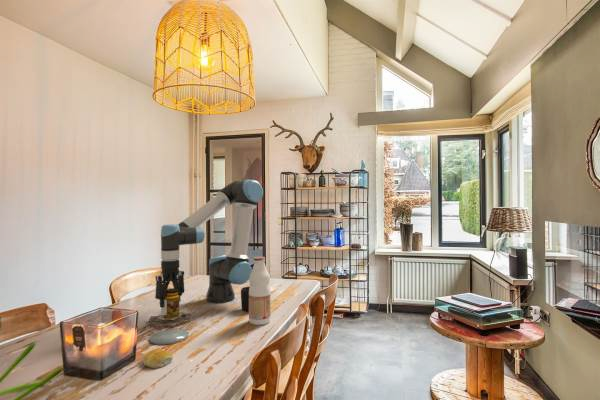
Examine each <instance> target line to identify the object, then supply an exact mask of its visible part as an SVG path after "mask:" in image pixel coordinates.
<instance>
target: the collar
mask: <svg viewBox="0 0 600 400" xmlns="http://www.w3.org/2000/svg"><path fill="white" fill-rule="evenodd" d="M179 314H183V315H181V316H182V318H184V319H182V320H179V321H177V322H173V323H172V322H170V323H159V322H156V321H158V320H159V319H157V318H159V317H161V316H162V315H163V314H161V313H160V314H159V315H151V316H150V317H149V318H148V319H147V321H148V322H147V323H148V326H149V327H153V328H156V329H168V328H169V329H170V328H176V327H180V326H183V325H186V324H187V323H191V318H192V313H191V312H189V313H187V312H180V311H179ZM181 316H180V317H181Z"/></svg>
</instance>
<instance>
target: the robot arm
mask: <svg viewBox="0 0 600 400" xmlns="http://www.w3.org/2000/svg"><path fill="white" fill-rule="evenodd" d="M263 195H264V189H263V187H262V185H261V184H260V182H259V181H258V180H256V179H245V180H235V181H232V182H230V183H228V184H227V185H225V186H224V187H223V188H221V189H220V190H219V191H217V192H216V196H214V197H213V198H211V199H210V200H209V201H207V202H206V203H205V204H203V205H202V206H201V207H199V208H197V210H195V211H194V212H192V213H191V214H190V215H189V216H187V217H186V218H185V219H183V220H182V221H181V222H179V223H178V224H177V223H175V224H163V225H162V226H161V230H160V245H161V247H160V250H161V251H160V252H161V253H160V258H161V261H160V267H161V274H159V275H155V282H156V283H155V295H154V297H155V299H156V300H159V307H160V315H161V314H163V315H167V299H165V297H166V293H167V289H169V288H168V287H169V284H170V283H171V282H172V286H173V287H172V288H175V289H178V295H179V303H181V298H182V297H181V296H183V294H184V293H185V279H184V277H185V271H184V270H179V268H180V246H183V245H184V246H185V245H186V246H187V245H198V244H202V243H203V242H204V241H205V235H206V234H205V231H204V229H203V227H201V226H203V225H204V224H205V223H206V222H208V221H209V220H210V219H212V218H213V217H214V216H215V215H217V214H218V213H219V212H221V210H223V209H224V208H225V207H226V208H227V207H230V206H231V205H232V204H234V205H235V206H236V212H235V213H236V214H235V219H234V225H233V232H232V239H231V244H230V251H229V253H228V254H227V255H222V256H214V257H213V256H212V257H210V259H209V261H208V263H209V264H208V267H209V268H208V269H209V271H208V273H209V274H208V278H209V279H208V282H209V283H208V284H209V286H208V289H207V291H206V295H205V301H206V302H207V303H211V304H212V303H213V304H221V303H223V304H224V303H228V302H231V301H234V300H235V298H236V297H235V296H236V294H235V291H234V287H233V285H239V286H240V285H244V284H246V283H247V282H248V281H249V275H250V273H251V272H252V269H253V267H252V266H251V264H250V263H249V262H250V258H249V256H248V248H249V242H250V235H251V229H252V221H253V215H254V209H256V208H257V207H258V202H260V201H261V200H262V198H263Z"/></svg>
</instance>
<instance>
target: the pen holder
mask: <svg viewBox="0 0 600 400" xmlns="http://www.w3.org/2000/svg"><path fill="white" fill-rule="evenodd" d="M249 287H250V286H244V287H242V288H241V290H240V303H241V305H240V306H241V310H242V311H243V312H248V313H249Z"/></svg>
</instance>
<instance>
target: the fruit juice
mask: <svg viewBox="0 0 600 400" xmlns="http://www.w3.org/2000/svg"><path fill="white" fill-rule="evenodd" d="M253 262H254V263H253V267H252V272H251V273H250V275H249V280H248V281H249V286H248V287H249V312H248V322H249V324H250V325H253V326H263V325H268V324H270V322H271V317H272V316H271V315H272V314H271V286H270V281H271V275H270V272H268V269H267V266H266V263H265V262H266V257H265V256H255V257H253Z"/></svg>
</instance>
